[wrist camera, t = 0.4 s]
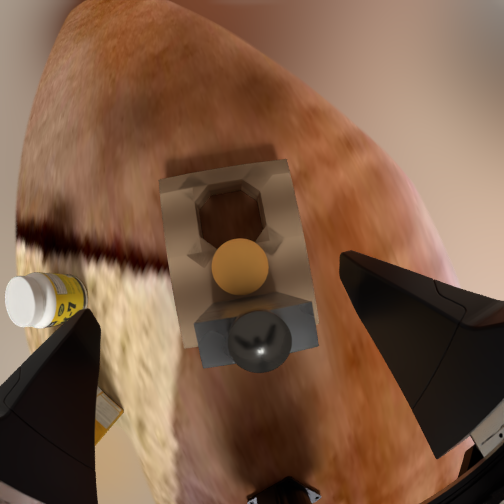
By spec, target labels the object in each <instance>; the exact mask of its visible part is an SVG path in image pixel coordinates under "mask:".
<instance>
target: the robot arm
mask: <svg viewBox="0 0 504 504" xmlns="http://www.w3.org/2000/svg"><path fill="white" fill-rule="evenodd" d="M339 274H340V279H341V281H342V283H343V285H344V287H345V289H346V291H347V293H348V296H349V298H350V300H351V302H352V304H353V306H354V308H355V310H356V312H357V314H358V316H359V318H360V319H361V321H362V323H363V324H364V326H365V328H366V329H367V331H368V333H369V334H370V336H371V338H372V339H373V341H374V343H375V344H376V346H377V348H378V349H379V351H380V353H381V355H382V356H383V358H384V360H385V362H386V363H387V365H388V367H389V369H390V370H391V372H392V374H393V376H394V378H395V379H396V381H397V383H398V385H399V387H400V388H401V390H402V392H403V394H404V396H405V398H406V400H407V402H408V403H409V405H410V407H411V409H413V410H412V411H413V413H414V415H415V417H416V419H417V421H418V423H419V425H420V427H421V429H422V431H423V433H424V435H425V437H426V439H427V441H428V443H429V445H430V448H431V450H432V452H433V454H434V456H435V458H436V459H439V458H440V457H442V456H443V455H445V454H446V453H447V452H449V451H450V450H452V449H453V448H454V447H456V446H457V445H459V444H460V443H461V442H463V441H464V440H465V439H466V438H468V437H469V436H471V438H472V440H473V441H474V443H475V444H474V445H473V446H472V447H471V448H469V449H468V450H467V451H466V452H465V454H464V458H463V462H462V465H461V469H460V472H459V475H458V478H457V479H456V480H455V481H454V482H452V483H451V484H449V485H448V486H447V487H445V488H444V489H442V490H441V491H439V492H438V493H436V494H435V495H433V496H431V497H430V498H428V499H427V500H425V501H423V502H422V503H420V504H504V301H500V300H496V299H492V298H489V297H486V296H483V295H480V294H476V293H473V292H470V291H466V290H463V289H460V288H457V287H454V286H451V285H448V284H446V283H443V282H440V281H437V280H433V279H432V278H429V277H426V276H424V275H421V274H418V273H415V272H413V271H410V270H407V269H404V268H401V267H399V266H396V265H393V264H390V263H387V262H384V261H381V260H379V259H376V258H373V257H370V256H367V255H364V254H361V253H358V252H355V251H352V250H350V251H346V252H342V253H341V254H340V268H339ZM100 340H101V328H100V325H99V323H98V322H97V320H96V318H95V317H94V315H93V313H92V312H91V310H90V309H88V308H87V309H81V310H79V311H77V312H76V313H75V314H74V315H73V316H72V317H71V318H70V319H69V320H67V321H66V322H65V323H64V324H63V325H62V326H61V327H60V328H59V329H58V330H57V331H56V332H54V333H53V334H52V335H51V336H50V337H49V338H48V339H47V340H46V341H45V342H44V343H43V344H42V345H41V346H40V347H39V348H38V349H37V350H36V351H35V352H34V353H33V354H32V355H31V356H30V357H29V358H28V359H27V360H26V361H25V362H24V363H23V364H22V365H21V366H20V367H19V368H18V369H17V370H16V371H15V372H14V373H13V374H12V375H11V376H10V377H9V378H8V379H7V380H6V381H5V382H4V383H3V384H2V385H1V386H0V504H98V500H97V488H96V472H95V416H96V400H97V387H98V377H99V367H100ZM288 480H290V481H288ZM320 498H321V495H320V494H319V493H317V492H315V491H313V490H312V489H310V488H308V487H307V486H305V485H303V484H302V483H300V482H298V481H297V480H295V479H294V478H292V477H286V478H285V479H283V480H281V481H280V482H278V483H277V484H275V485H273V486H272V487H270V488H268V489H267V490H265V491H263V492H261V493H259V494H258V495H256V496H254V497H252V498H250V499H249V500H248V501H247V503H248V504H312V503H314V502H316V501H317V500H319V499H320Z"/></svg>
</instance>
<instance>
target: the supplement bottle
mask: <svg viewBox="0 0 504 504" xmlns="http://www.w3.org/2000/svg"><path fill="white" fill-rule="evenodd" d="M87 303H88V297H87V292H86V289H85V286H84V285H83V283H82V282H81V281H80V280H79V279H78V278H77V277H75V276H73V275H68V274H54V273H40V272H34V273H30V274H28V275H27V276H16V277H14V278H12V279H11V280H10V281H9V283H8V285H7V288H6V293H5V304H6V309H7V312H8V315H9V317H10V318H11V320H12V321H13V322H14V323H15V324H16V325H17V326H20V327H34V328H46V327H51V326H55V325H60V324H64V323H65V322H66V321H67V320H69V319H70V318H71V317H72V316H73V315H74V314H75V313H76V312H77V311H79V310H81V309H86V308H87Z"/></svg>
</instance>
